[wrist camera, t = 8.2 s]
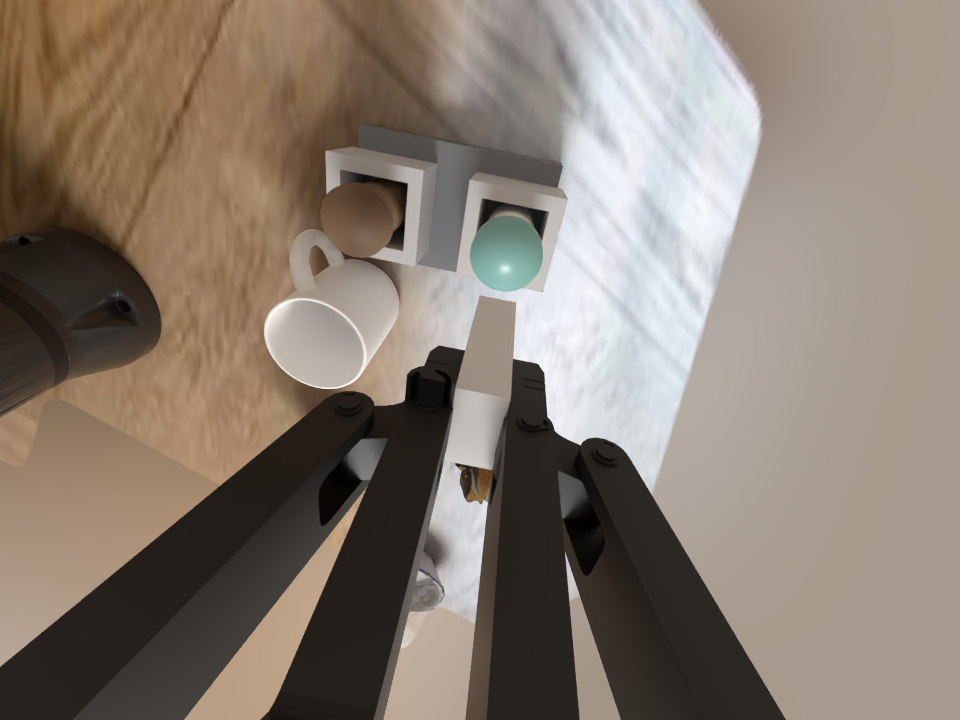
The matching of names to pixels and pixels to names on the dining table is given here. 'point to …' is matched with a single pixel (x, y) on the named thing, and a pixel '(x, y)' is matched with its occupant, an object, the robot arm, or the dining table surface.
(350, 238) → the walnut plug
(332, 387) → the mug
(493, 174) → the white plug holder
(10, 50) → the dining table surface
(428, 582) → the bowl
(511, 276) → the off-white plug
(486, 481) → the rock
